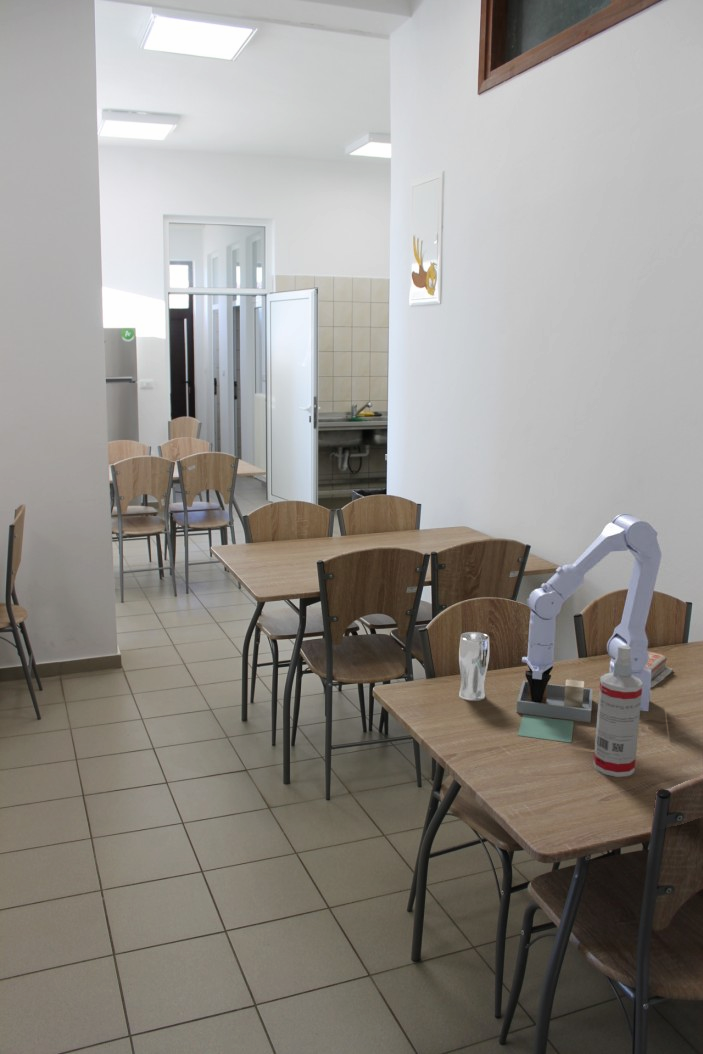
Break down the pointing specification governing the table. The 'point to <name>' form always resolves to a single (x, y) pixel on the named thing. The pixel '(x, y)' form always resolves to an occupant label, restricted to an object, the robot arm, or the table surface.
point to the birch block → (574, 693)
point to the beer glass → (473, 665)
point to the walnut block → (543, 695)
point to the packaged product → (657, 667)
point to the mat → (546, 728)
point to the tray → (555, 704)
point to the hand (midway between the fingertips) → (537, 698)
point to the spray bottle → (618, 718)
